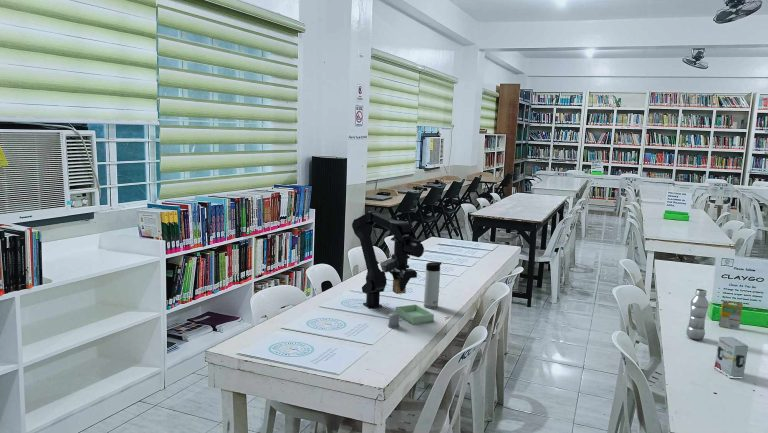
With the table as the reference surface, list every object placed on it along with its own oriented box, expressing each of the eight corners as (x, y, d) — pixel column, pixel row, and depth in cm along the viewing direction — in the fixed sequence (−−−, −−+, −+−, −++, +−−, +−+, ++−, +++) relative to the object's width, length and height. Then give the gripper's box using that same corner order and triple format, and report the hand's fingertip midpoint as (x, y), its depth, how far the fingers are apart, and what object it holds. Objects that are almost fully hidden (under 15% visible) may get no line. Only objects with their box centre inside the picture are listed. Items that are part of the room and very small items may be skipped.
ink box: (713, 368, 201) (718, 335, 199) (726, 368, 201) (731, 336, 199) (730, 379, 192) (735, 345, 190) (743, 379, 193) (748, 345, 191)
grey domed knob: (385, 325, 228) (386, 313, 227) (395, 323, 230) (396, 311, 229) (391, 329, 224) (392, 316, 223) (401, 327, 226) (402, 315, 225)
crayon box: (738, 328, 245) (742, 301, 243) (739, 330, 242) (743, 303, 240) (718, 324, 248) (722, 298, 246) (719, 326, 245) (723, 300, 243)
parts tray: (395, 313, 242) (395, 306, 241) (415, 311, 247) (415, 304, 246) (412, 324, 230) (412, 317, 229) (433, 321, 235) (433, 314, 234)
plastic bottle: (702, 337, 231) (708, 289, 228) (705, 343, 225) (712, 293, 222) (684, 334, 233) (690, 286, 230) (687, 340, 227) (693, 291, 224)
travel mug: (437, 309, 250) (440, 264, 247) (422, 307, 252) (425, 263, 248) (439, 305, 256) (442, 261, 253) (424, 303, 258) (427, 260, 254)
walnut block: (392, 291, 239) (393, 279, 238) (401, 290, 241) (401, 278, 240) (396, 293, 235) (397, 282, 234) (405, 293, 237) (406, 281, 236)
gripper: (373, 249, 240) (372, 285, 243) (393, 258, 224) (391, 297, 226) (397, 247, 245) (395, 283, 247) (418, 257, 228) (416, 295, 231)
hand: (399, 289), depth 238 cm, fingers closed on walnut block, 4 cm apart
